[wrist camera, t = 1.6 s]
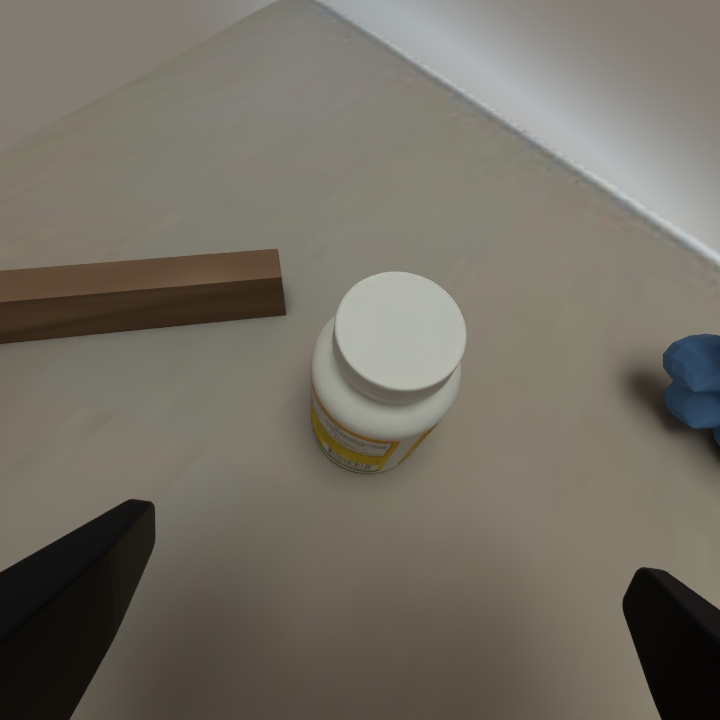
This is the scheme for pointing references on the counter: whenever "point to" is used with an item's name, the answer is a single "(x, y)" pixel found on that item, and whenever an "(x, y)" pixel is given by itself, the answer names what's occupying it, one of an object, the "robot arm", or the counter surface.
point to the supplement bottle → (385, 370)
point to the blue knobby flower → (695, 381)
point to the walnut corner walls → (139, 294)
